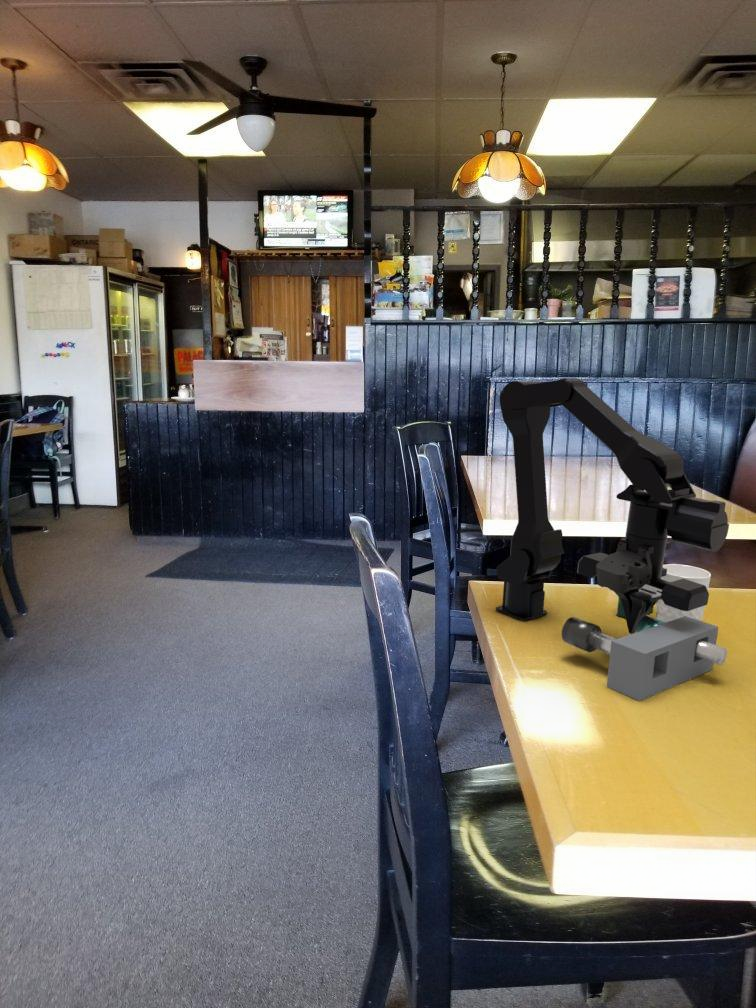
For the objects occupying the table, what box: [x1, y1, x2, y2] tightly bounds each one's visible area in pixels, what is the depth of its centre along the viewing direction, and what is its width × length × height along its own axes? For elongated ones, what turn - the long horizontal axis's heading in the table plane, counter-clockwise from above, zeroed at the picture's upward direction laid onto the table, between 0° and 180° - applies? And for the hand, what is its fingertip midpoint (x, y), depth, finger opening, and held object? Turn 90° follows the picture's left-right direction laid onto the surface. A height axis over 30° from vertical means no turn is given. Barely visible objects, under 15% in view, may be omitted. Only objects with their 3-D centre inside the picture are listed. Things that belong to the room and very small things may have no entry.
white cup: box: [655, 563, 712, 622], centre depth 117 cm, size 8×8×10 cm
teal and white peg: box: [635, 615, 728, 666], centre depth 101 cm, size 12×4×4 cm, turn 37°
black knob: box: [561, 616, 617, 656], centre depth 100 cm, size 12×4×4 cm, turn 37°
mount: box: [606, 616, 719, 702], centre depth 98 cm, size 5×18×6 cm, turn 127°
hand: (631, 633), depth 108 cm, fingers closed
